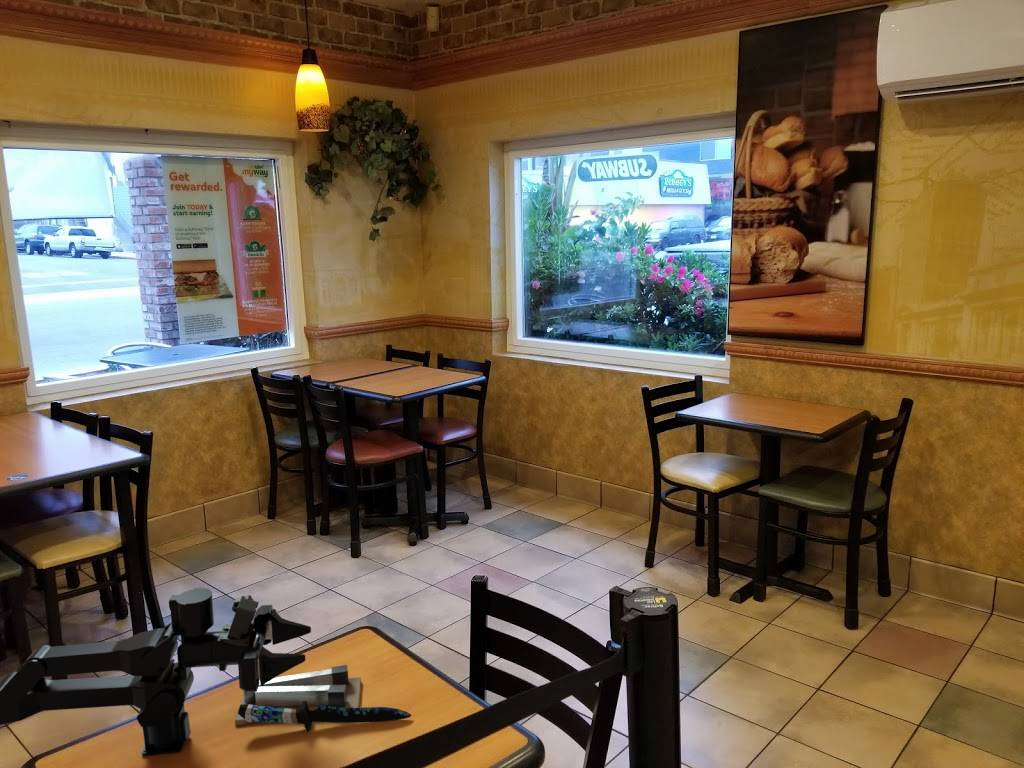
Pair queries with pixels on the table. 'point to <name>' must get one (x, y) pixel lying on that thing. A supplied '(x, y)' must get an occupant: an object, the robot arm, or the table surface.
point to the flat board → (351, 702)
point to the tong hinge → (249, 698)
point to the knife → (319, 714)
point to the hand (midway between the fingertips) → (308, 643)
